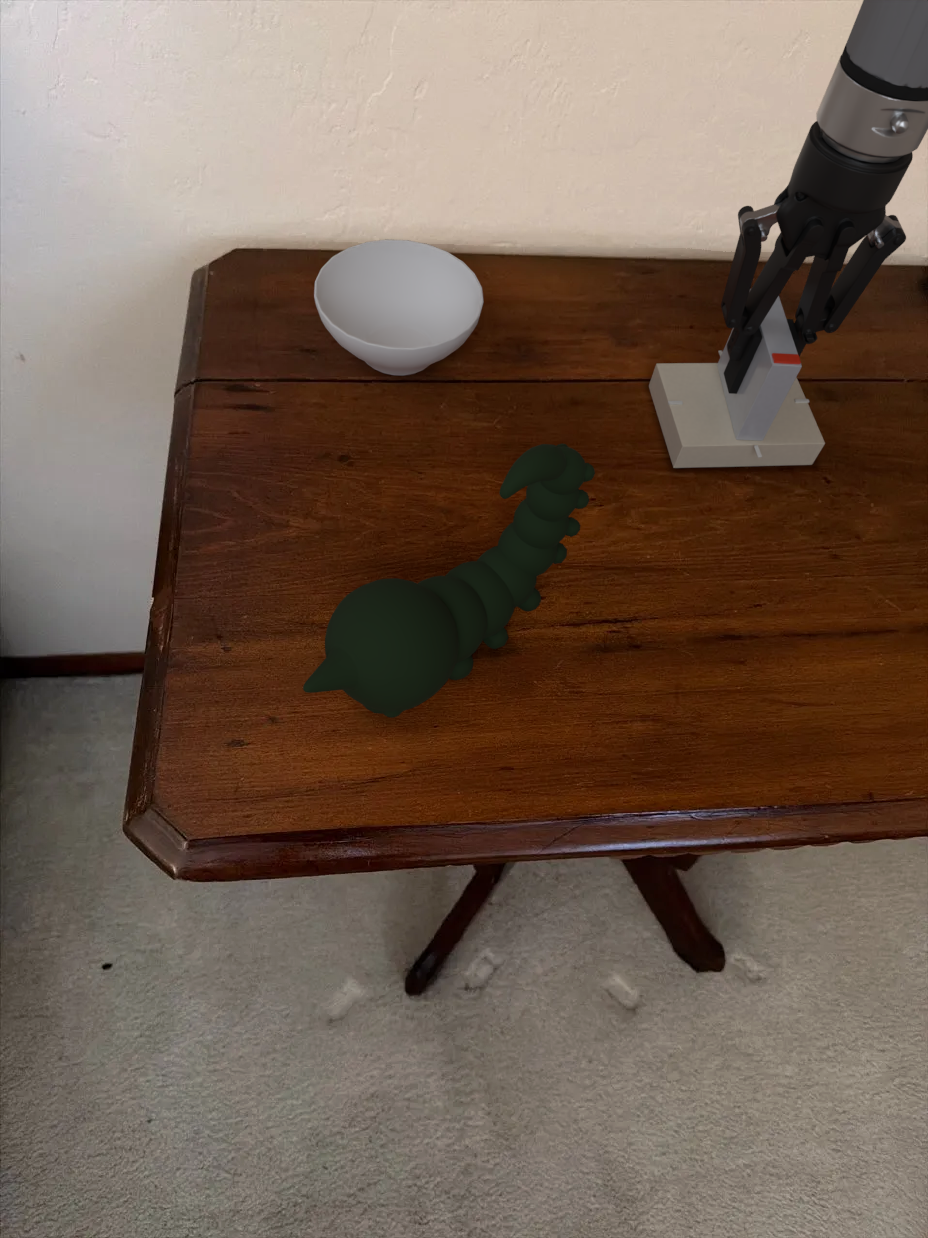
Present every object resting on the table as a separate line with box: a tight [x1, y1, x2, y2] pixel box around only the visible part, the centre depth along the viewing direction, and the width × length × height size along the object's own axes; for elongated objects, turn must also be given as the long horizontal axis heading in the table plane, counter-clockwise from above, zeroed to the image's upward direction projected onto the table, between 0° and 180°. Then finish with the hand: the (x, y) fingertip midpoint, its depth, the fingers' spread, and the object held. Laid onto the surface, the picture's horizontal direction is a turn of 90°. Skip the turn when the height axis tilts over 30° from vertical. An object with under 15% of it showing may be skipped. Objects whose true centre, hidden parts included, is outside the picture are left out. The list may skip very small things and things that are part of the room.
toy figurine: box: [302, 442, 596, 719], centre depth 63 cm, size 9×19×25 cm
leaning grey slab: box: [717, 288, 803, 441], centre depth 81 cm, size 10×3×9 cm, turn 1°
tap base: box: [648, 349, 826, 469], centre depth 86 cm, size 14×14×3 cm
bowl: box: [313, 238, 484, 376], centre depth 86 cm, size 16×16×7 cm
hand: (747, 383), depth 83 cm, fingers closed on leaning grey slab, 3 cm apart
